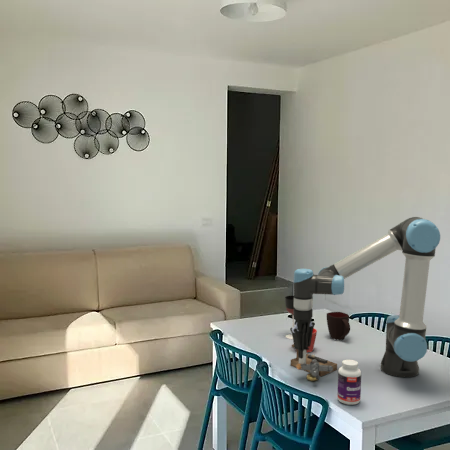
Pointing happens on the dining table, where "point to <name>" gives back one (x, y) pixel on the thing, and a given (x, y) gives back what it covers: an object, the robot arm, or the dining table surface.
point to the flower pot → (312, 340)
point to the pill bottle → (349, 383)
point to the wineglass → (290, 310)
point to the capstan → (314, 369)
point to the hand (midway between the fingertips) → (302, 365)
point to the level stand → (320, 360)
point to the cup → (338, 325)
